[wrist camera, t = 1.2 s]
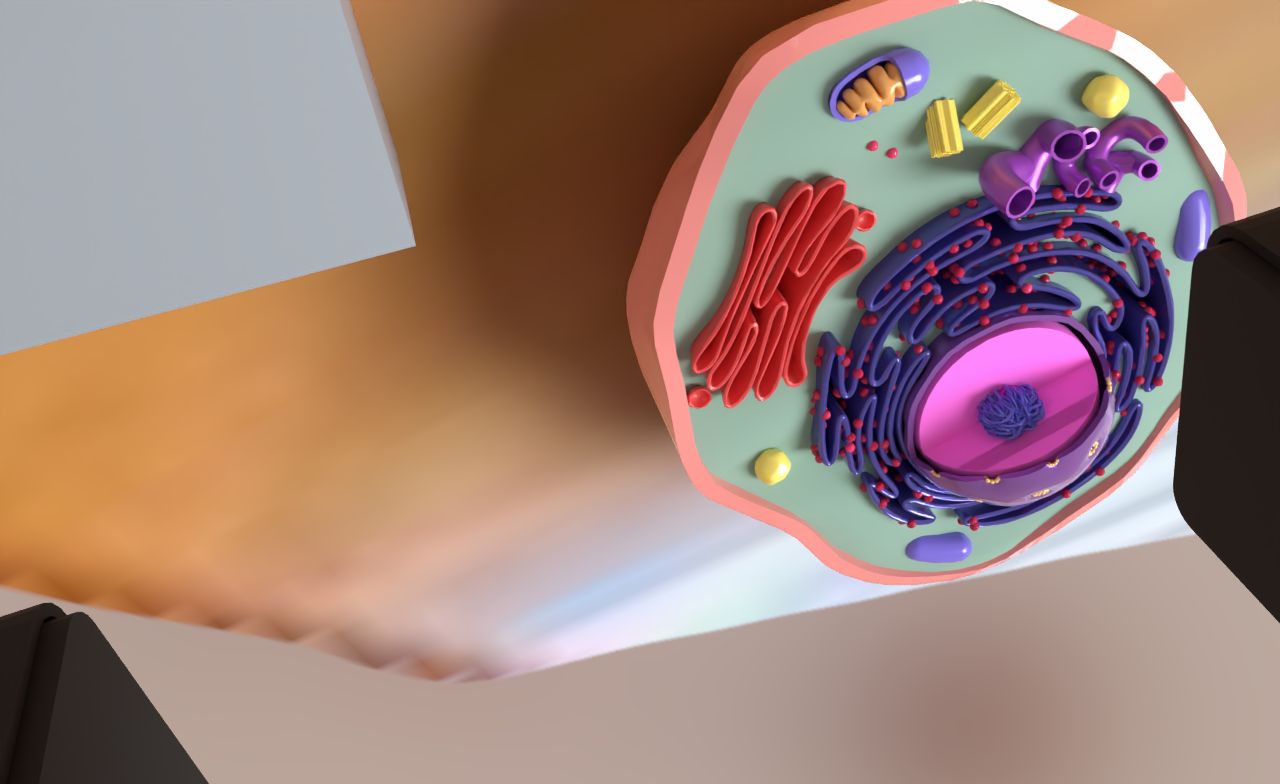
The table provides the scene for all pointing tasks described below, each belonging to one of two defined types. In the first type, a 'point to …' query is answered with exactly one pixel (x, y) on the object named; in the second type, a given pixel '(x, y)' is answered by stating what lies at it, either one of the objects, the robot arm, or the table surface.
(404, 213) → the base box
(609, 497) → the table surface
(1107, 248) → the cell model
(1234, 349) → the robot arm
